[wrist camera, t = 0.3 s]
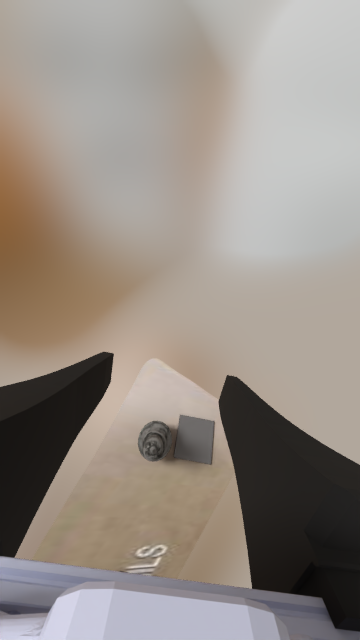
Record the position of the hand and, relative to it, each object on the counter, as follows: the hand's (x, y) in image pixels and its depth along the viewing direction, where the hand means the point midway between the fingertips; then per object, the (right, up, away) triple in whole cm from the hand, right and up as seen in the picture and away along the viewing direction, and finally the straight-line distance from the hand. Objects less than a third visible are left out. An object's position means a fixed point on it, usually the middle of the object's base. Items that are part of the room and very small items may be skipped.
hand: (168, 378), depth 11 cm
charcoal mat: (+4, -20, +23) cm, 30 cm away
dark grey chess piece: (-4, -19, +23) cm, 30 cm away
